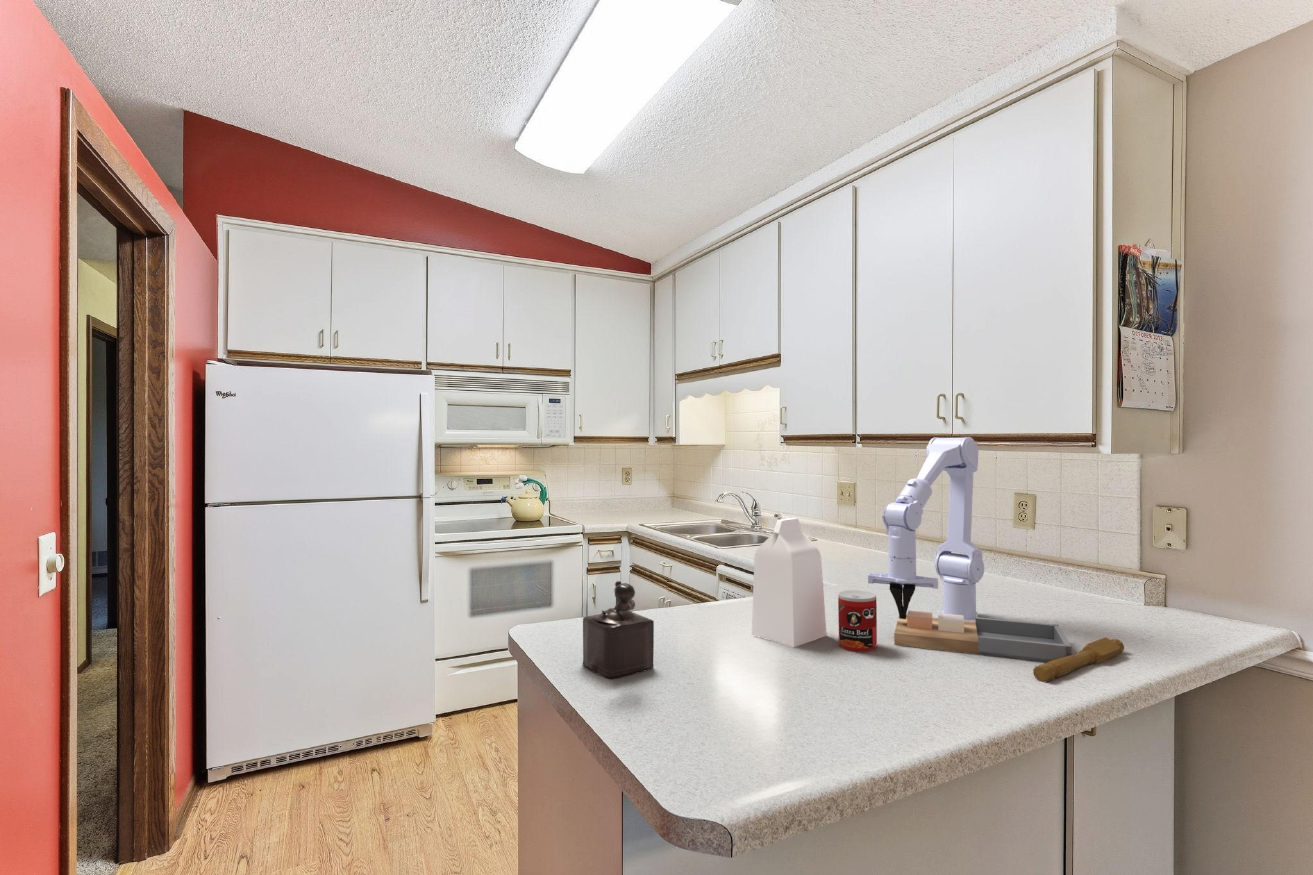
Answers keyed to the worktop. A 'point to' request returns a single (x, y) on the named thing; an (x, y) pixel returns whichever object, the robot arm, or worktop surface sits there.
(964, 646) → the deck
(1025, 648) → the tray
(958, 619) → the tile
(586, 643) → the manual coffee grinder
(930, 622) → the tile
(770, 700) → the worktop surface
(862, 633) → the canned food
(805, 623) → the milk
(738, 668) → the worktop surface
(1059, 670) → the tap handle
